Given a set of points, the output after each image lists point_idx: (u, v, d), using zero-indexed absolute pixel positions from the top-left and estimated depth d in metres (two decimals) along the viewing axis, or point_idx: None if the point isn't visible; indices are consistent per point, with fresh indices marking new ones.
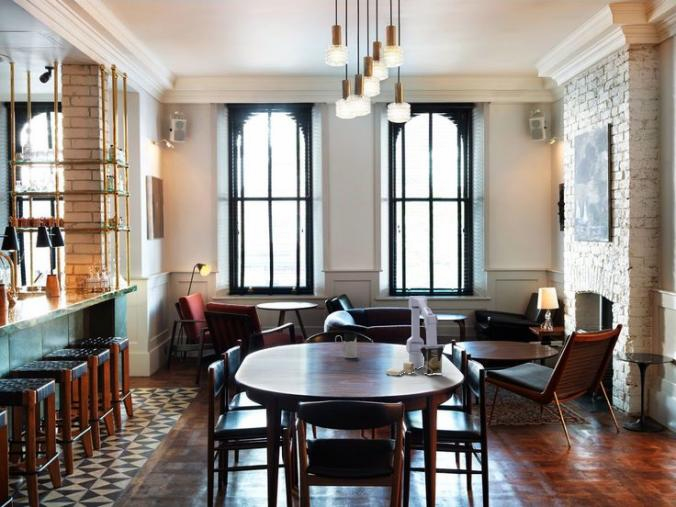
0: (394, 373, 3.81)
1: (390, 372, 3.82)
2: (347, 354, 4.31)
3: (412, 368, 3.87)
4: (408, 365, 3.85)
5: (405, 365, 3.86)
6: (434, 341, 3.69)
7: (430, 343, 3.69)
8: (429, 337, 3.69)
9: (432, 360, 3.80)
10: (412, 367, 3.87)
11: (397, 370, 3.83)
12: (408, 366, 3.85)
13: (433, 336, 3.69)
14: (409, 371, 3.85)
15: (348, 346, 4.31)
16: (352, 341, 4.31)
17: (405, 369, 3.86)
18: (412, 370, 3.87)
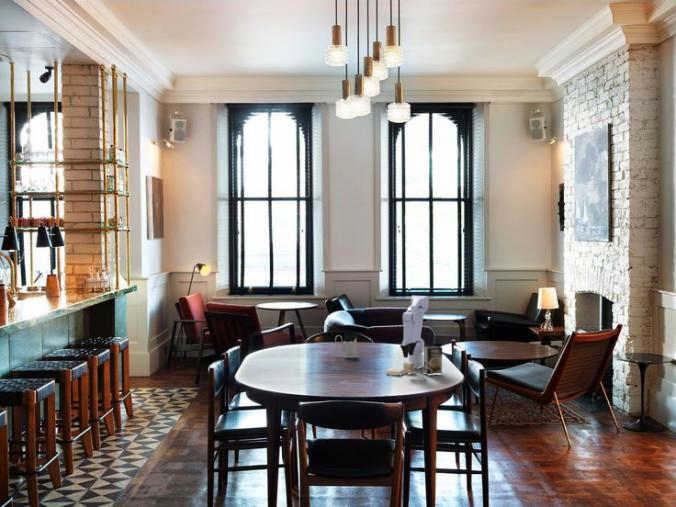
0: (394, 373, 3.81)
1: (390, 372, 3.82)
2: (347, 354, 4.31)
3: (412, 368, 3.87)
4: (408, 365, 3.85)
5: (405, 365, 3.86)
6: (413, 337, 3.86)
7: (411, 340, 3.84)
8: (410, 334, 3.84)
9: (432, 360, 3.80)
10: (412, 367, 3.87)
11: (397, 370, 3.83)
12: (408, 366, 3.85)
13: (413, 333, 3.85)
14: (409, 371, 3.85)
15: (348, 346, 4.31)
16: (352, 341, 4.31)
17: (405, 369, 3.86)
18: (412, 370, 3.87)
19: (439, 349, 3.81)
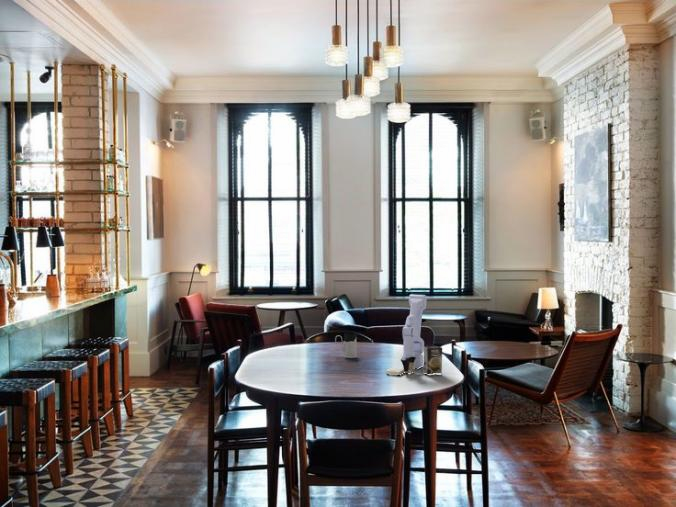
0: (394, 373, 3.81)
1: (390, 372, 3.82)
2: (347, 354, 4.31)
3: (412, 368, 3.87)
4: None
5: None
6: (413, 351, 3.86)
7: (411, 354, 3.84)
8: (410, 348, 3.84)
9: (432, 360, 3.80)
10: (412, 367, 3.87)
11: (397, 370, 3.83)
12: None
13: (413, 347, 3.86)
14: (409, 371, 3.85)
15: (348, 346, 4.31)
16: (352, 341, 4.31)
17: None
18: (412, 370, 3.87)
19: (439, 349, 3.81)
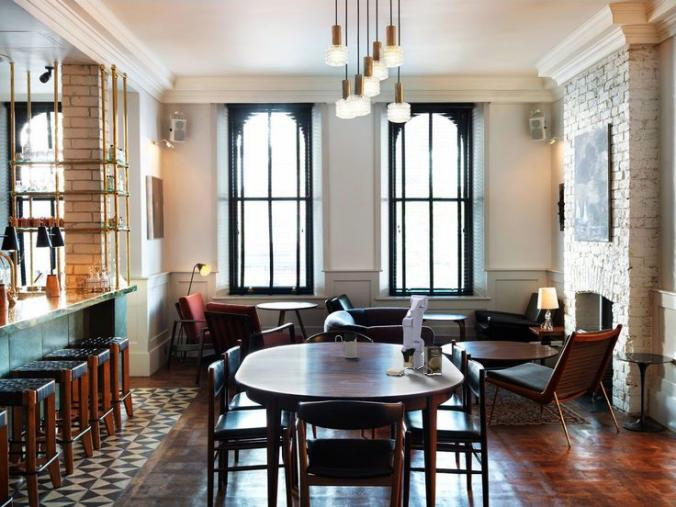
0: (394, 373, 3.81)
1: (390, 372, 3.82)
2: (347, 354, 4.31)
3: (412, 361, 3.86)
4: None
5: None
6: (413, 343, 3.86)
7: (411, 345, 3.84)
8: (410, 339, 3.84)
9: (432, 360, 3.80)
10: (412, 360, 3.86)
11: (397, 370, 3.83)
12: None
13: (413, 338, 3.85)
14: (409, 364, 3.84)
15: (348, 346, 4.31)
16: (352, 341, 4.31)
17: (405, 362, 3.86)
18: (412, 363, 3.86)
19: (439, 349, 3.81)
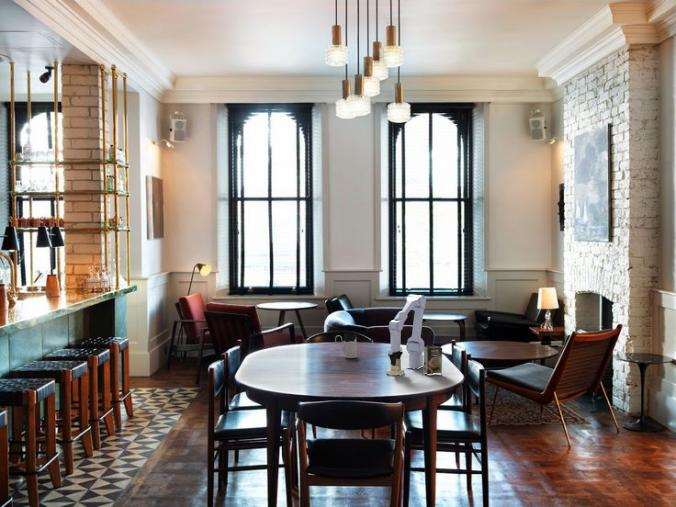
0: (394, 373, 3.81)
1: (390, 372, 3.82)
2: (347, 354, 4.31)
3: (399, 364, 3.84)
4: None
5: None
6: None
7: (398, 348, 3.82)
8: (397, 342, 3.81)
9: (432, 360, 3.80)
10: (399, 363, 3.84)
11: None
12: None
13: (400, 341, 3.83)
14: (396, 367, 3.82)
15: (348, 346, 4.31)
16: (352, 341, 4.31)
17: None
18: (399, 366, 3.84)
19: (439, 349, 3.81)
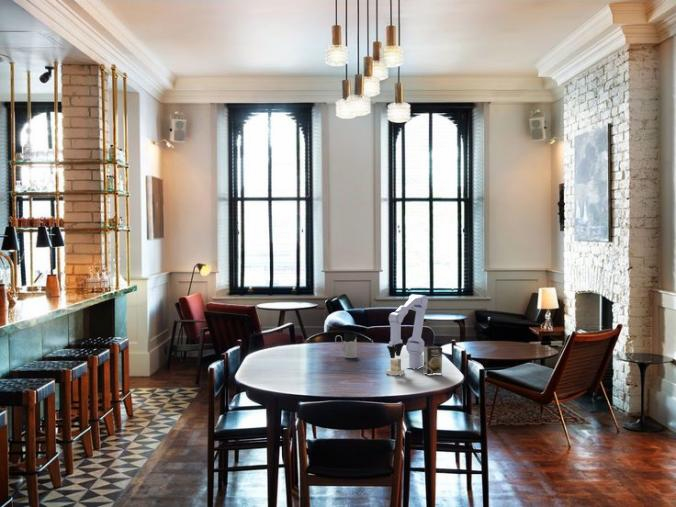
0: (394, 373, 3.81)
1: (390, 372, 3.82)
2: (347, 354, 4.31)
3: (399, 364, 3.84)
4: (395, 361, 3.82)
5: (392, 361, 3.83)
6: (400, 338, 3.83)
7: (398, 340, 3.82)
8: (397, 335, 3.81)
9: (432, 360, 3.80)
10: (399, 363, 3.84)
11: None
12: (395, 362, 3.82)
13: (400, 333, 3.83)
14: (396, 367, 3.82)
15: (348, 346, 4.31)
16: (352, 341, 4.31)
17: (392, 366, 3.83)
18: (399, 366, 3.84)
19: (439, 349, 3.81)
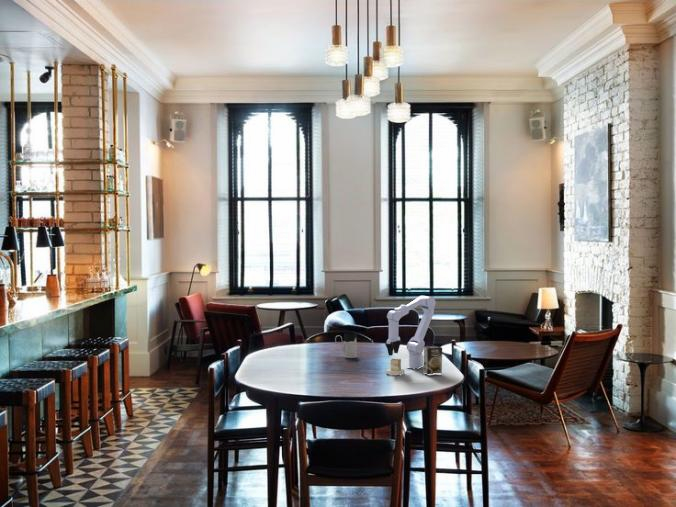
0: (394, 373, 3.81)
1: (390, 372, 3.82)
2: (347, 354, 4.31)
3: (399, 364, 3.84)
4: (395, 361, 3.82)
5: (392, 361, 3.83)
6: None
7: (396, 338, 3.90)
8: (395, 332, 3.89)
9: (432, 360, 3.80)
10: (399, 363, 3.84)
11: None
12: (395, 362, 3.82)
13: None
14: (396, 367, 3.82)
15: (348, 346, 4.31)
16: (352, 341, 4.31)
17: (392, 366, 3.83)
18: (399, 366, 3.84)
19: (439, 349, 3.81)
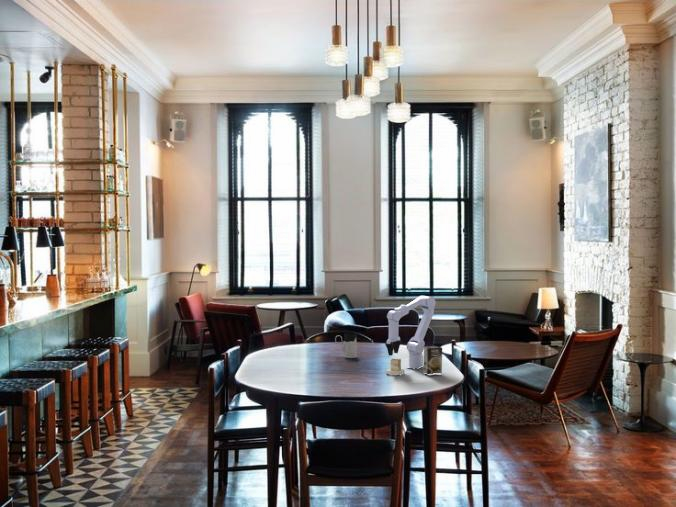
0: (394, 373, 3.81)
1: (390, 372, 3.82)
2: (347, 354, 4.31)
3: (399, 364, 3.84)
4: (395, 361, 3.82)
5: (392, 361, 3.83)
6: None
7: (396, 338, 3.90)
8: (395, 332, 3.89)
9: (432, 360, 3.80)
10: (399, 363, 3.84)
11: None
12: (395, 362, 3.82)
13: None
14: (396, 367, 3.82)
15: (348, 346, 4.31)
16: (352, 341, 4.31)
17: (392, 366, 3.83)
18: (399, 366, 3.84)
19: (439, 349, 3.81)
